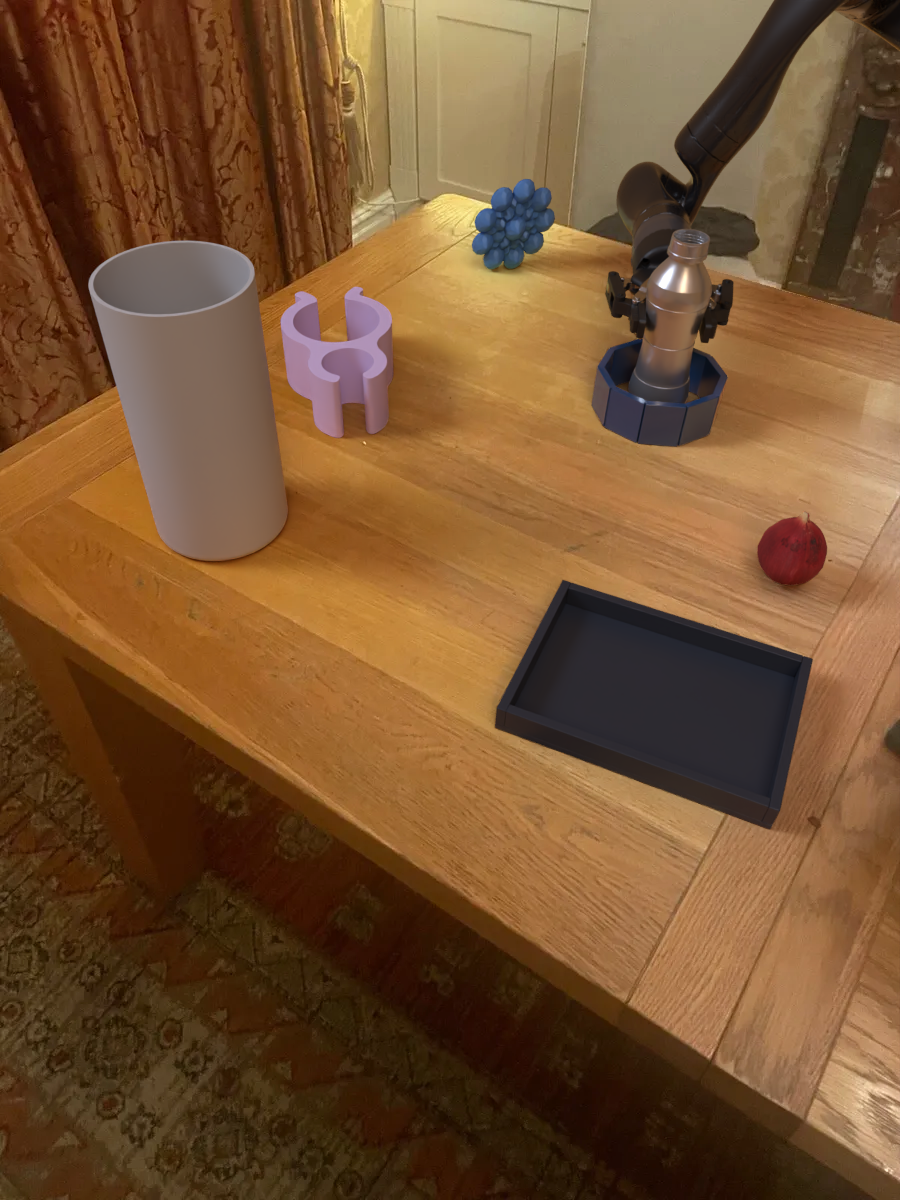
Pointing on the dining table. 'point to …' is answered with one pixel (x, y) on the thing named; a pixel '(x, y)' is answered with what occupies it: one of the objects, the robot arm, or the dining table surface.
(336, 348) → the clip
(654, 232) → the robot arm
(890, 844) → the dining table surface
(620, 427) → the blue faceted ring
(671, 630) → the tray
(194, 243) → the cylinder vase
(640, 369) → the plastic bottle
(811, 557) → the onion
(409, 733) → the dining table surface
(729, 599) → the dining table surface
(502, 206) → the grapes
